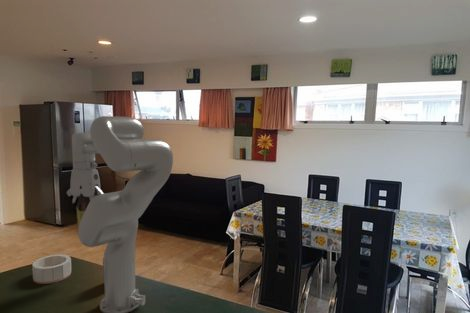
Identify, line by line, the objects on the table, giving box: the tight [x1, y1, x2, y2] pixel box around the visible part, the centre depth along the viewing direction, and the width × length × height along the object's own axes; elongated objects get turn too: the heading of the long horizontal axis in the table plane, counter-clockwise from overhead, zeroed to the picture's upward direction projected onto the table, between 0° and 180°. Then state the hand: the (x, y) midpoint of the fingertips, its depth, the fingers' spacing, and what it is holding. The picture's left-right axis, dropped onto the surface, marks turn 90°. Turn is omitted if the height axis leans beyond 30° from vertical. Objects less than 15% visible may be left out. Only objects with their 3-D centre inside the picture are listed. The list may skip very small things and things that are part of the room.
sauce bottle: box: [76, 186, 90, 237], centre depth 120 cm, size 6×6×20 cm
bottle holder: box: [31, 253, 72, 285], centre depth 123 cm, size 13×13×6 cm
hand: (85, 213), depth 120 cm, fingers closed on sauce bottle, 6 cm apart
